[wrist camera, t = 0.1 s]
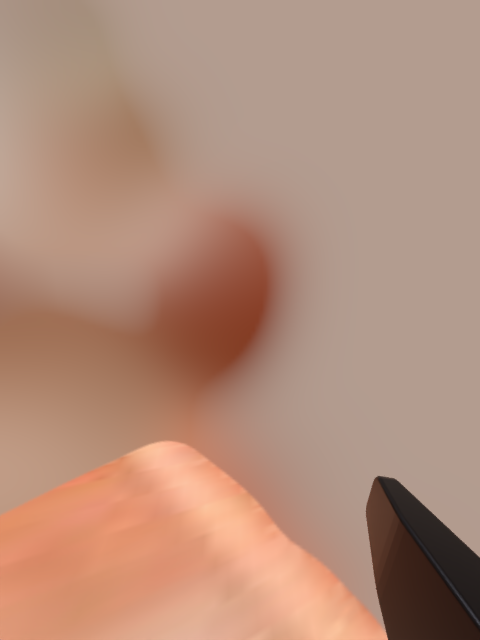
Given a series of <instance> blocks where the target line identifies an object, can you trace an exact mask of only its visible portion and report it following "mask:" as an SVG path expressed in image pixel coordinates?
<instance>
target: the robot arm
mask: <svg viewBox="0 0 480 640" xmlns="http://www.w3.org/2000/svg"><path fill="white" fill-rule="evenodd" d="M366 518H367V526H368V533H369V540H370V547H371V555H372V563H373V570H374V577H375V583H376V590H377V594H378V599H379V604H380V608H381V612H382V616H383V620H384V624H385V629H386V633H387V637H388V640H480V557H478V556H477V555H476V554H475V553H474V552H473V551H472V550H471V549H470V548H469V547H468V546H467V545H466V544H465V543H464V542H462V540H460V539H459V538H458V537H457V536H456V535H455V534H454V533H453V532H452V531H451V530H450V529H449V528H448V527H447V526H445V525H444V524H443V523H442V522H441V521H440V520H439V519H438V518H437V517H436V516H435V515H434V514H433V513H432V512H431V511H429V510H428V509H427V508H426V507H425V506H424V505H423V504H422V503H421V502H420V501H419V500H418V499H416V497H415V496H413V495H412V494H411V493H410V492H409V491H408V490H407V489H406V488H405V487H404V486H403V485H402V484H401V483H399V482H398V481H397V480H396V479H394V478H389V477H382V476H378V477H376V478H375V479H374V482H373V485H372V488H371V492H370V495H369V499H368V502H367V506H366Z"/></svg>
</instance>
